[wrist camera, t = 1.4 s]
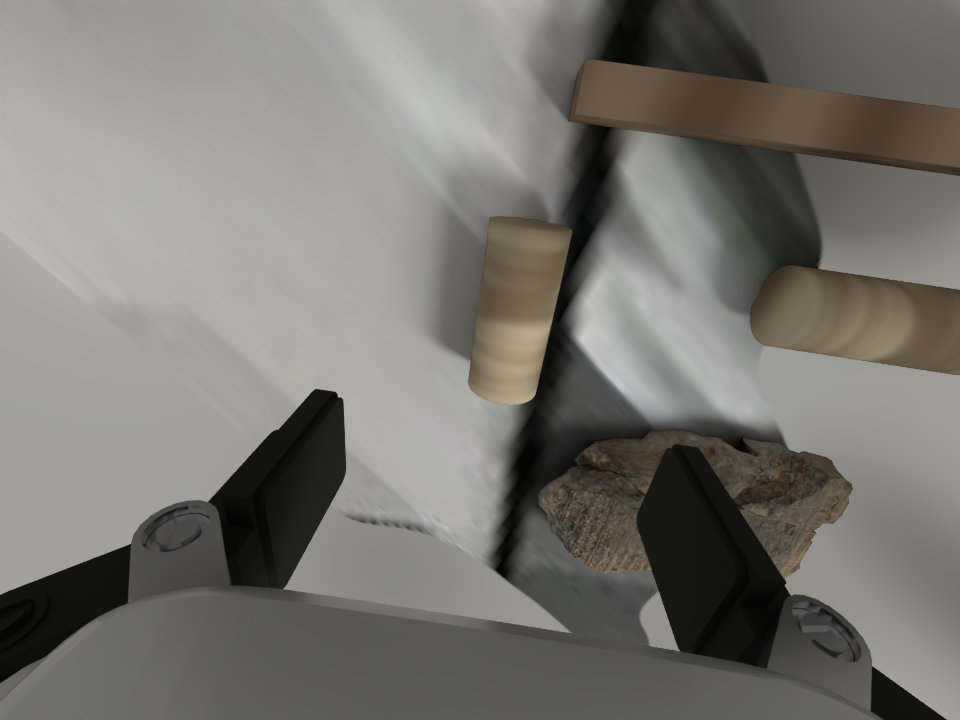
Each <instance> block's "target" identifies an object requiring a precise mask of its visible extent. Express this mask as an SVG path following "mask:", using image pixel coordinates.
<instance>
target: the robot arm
mask: <svg viewBox="0 0 960 720" xmlns="http://www.w3.org/2000/svg"><path fill="white" fill-rule="evenodd" d="M345 473H346V453H345V429H344V404H343V399H342V398H339V397H338V395H337V393H336V392H333V391H326V390H320V389H315V390H314V391H313V392H312V393H311V394H310V395H309V396H308V397H307V398H306V399H305V401H304V402H303V403H302V404H301V405H300V406H299V407H298V408H297V410H296V411H295V412H294V413H293V414H292V415H291V416H290V417H289V418H288V420H287V421H286V422H285V423H284V424H283V425H282V426H281V427H280V429H279V430H275V431H273V432H272V433H271V434H269V435H268V436H267V438H266V439H265V440H264V441H263V442H262V443H261V444H260V445H259V446H258V447H257V449H256V450H255V451H254V452H253V453H252V454H251V455H250V456H249V457H248V459H247V460H246V461H245V462H244V463H243V464H242V465H241V466H240V467H239V468H238V470H237V471H236V472H235V473H234V474H233V475H232V476H231V477H230V479H228V481H227V482H226V483H225V484H224V485H223V486H222V487H221V488H220V489H219V491H218V492H217V493H216V494H215V495H214V496H213V497H212V498H211V499H210V500H209V501H208V502H205V501H201V500H196V501H195V500H193V501H184V502H180V503H176V504H173V505H171V506H168V507H166V508H163V509H161V510H160V511H158V512H156V513H155V514H153V515H151V516H150V517H149V518H148V519H146V520H145V521H144V522H143V523H142V524H141V525H140V526H139V528H138V529H137V530H136V532H135V533H134V536H133V539H132V542H131V544H130V545H127V546H125V547H122V548H119V549H117V550H114V551H112V552H109V553H107V554H104V555H101V556H99V557H96V558H93V559H91V560H88V561H86V562H83V563H80V564H78V565H75V566H73V567H70V568H67V569H65V570H62V571H60V572H57V573H55V574H52V575H49V576H47V577H44V578H42V579H39V580H36V581H34V582H31V583H29V584H26V585H23V586H21V587H18V588H16V589H13V590H10V591H8V592H6V593H4V594H2V595H0V720H946V719H945V718H944V717H942V716H941V715H939V714H938V713H937V712H935V711H934V710H932V709H931V708H930V707H928V706H927V705H925V704H924V703H923V702H921V701H920V700H919V699H917V698H915V697H914V696H913V695H912V694H910V693H909V692H907V691H906V690H904V689H903V688H902V687H900V686H899V685H898V684H896V683H895V682H893V681H892V680H891V679H889V678H888V677H886V676H885V675H884V674H882V673H881V672H880V671H878V670H877V669H875V668H874V667H873V666H872V659H871V654H870V650H869V648H868V646H867V644H866V643H865V641H864V639H863V637H862V636H861V635H860V634H859V632H858V631H857V630H856V629H855V627H854V626H853V625H852V624H851V623H849V622H848V621H847V620H846V619H845V618H844V617H843V616H842V615H841V614H839V613H838V612H837V611H835V610H834V609H832V608H831V607H830V606H828V605H826V604H824V603H822V602H820V601H819V600H817V599H814V598H811V597H808V596H805V595H792V596H791V595H790V594H789V592H788V591H787V589H786V587H785V586H784V585H785V584H786V581H785V580H784V578H783V576H782V575H781V573H780V572H779V570H778V569H777V567H776V566H775V564H774V563H773V561H772V560H771V558H770V556H769V555H768V553H767V552H766V550H765V549H764V547H763V546H762V544H761V543H760V541H759V540H758V538H757V536H756V535H755V533H754V532H753V530H752V529H751V527H750V526H749V524H748V523H747V521H746V520H745V518H744V516H743V515H742V513H741V512H740V510H739V509H738V507H737V506H736V504H735V503H734V501H733V500H732V498H731V496H730V495H729V493H728V492H727V490H726V489H725V487H724V486H723V484H722V483H721V481H720V480H719V478H718V476H717V475H716V473H715V472H714V470H713V469H712V467H711V466H710V464H709V463H708V461H707V460H706V458H705V456H704V455H703V453H702V452H701V450H700V449H699V448H697V447H694V446H687V445H681V444H674V445H673V446H672V448H667V449H666V450H665V452H664V454H663V457H662V459H661V461H660V463H659V466H658V468H657V470H656V472H655V475H654V477H653V479H652V481H651V484H650V486H649V488H648V490H647V493H646V495H645V497H644V499H643V502H642V504H641V506H640V508H639V511H638V513H637V518H636V523H637V528H638V531H639V534H640V537H641V540H642V543H643V546H644V549H645V552H646V554H647V557H648V560H649V563H650V566H651V569H652V572H653V575H654V578H655V581H656V584H657V587H658V590H659V593H660V596H661V599H662V601H663V605H664V608H665V611H666V613H667V617H668V620H669V622H670V625H671V628H672V631H673V634H674V637H675V640H676V643H677V646H678V648H679V650H680V651H681V652H680V651H674V650H668V649H663V648H657V647H651V646H644V645H638V644H632V643H626V642H620V641H614V640H608V639H602V638H596V637H590V636H584V635H578V634H572V633H566V632H559V631H553V630H547V629H541V628H534V627H528V626H522V625H515V624H510V623H503V622H497V621H491V620H484V619H478V618H471V617H465V616H459V615H452V614H447V613H440V612H433V611H426V610H421V609H414V608H407V607H401V606H395V605H388V604H382V603H375V602H368V601H362V600H355V599H349V598H342V597H335V596H328V595H320V594H313V593H305V592H298V591H291V590H283V588H284V587H285V586H286V585H287V583H288V581H289V580H290V577H291V576H292V574H293V572H294V570H295V568H296V567H297V565H298V563H299V561H300V559H301V557H302V556H303V554H304V552H305V550H306V548H307V546H308V544H309V543H310V541H311V539H312V537H313V535H314V533H315V532H316V529H317V528H318V526H319V524H320V522H321V521H322V519H323V517H324V515H325V513H326V511H327V509H328V508H329V506H330V504H331V502H332V500H333V498H334V497H335V495H336V493H337V491H338V489H339V487H340V485H341V484H342V482H343V480H344V477H345Z"/></svg>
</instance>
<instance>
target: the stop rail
mask: <svg viewBox="0 0 960 720" xmlns="http://www.w3.org/2000/svg"><path fill="white" fill-rule="evenodd" d="M568 121H572V122H579V123H586V124H593V125H600V126H607V127H615V128H622V129H629V130H636V131H643V132H650V133H658V134H665V135H672V136H679V137H686V138H693V139H700V140H708V141H715V142H722V143H729V144H736V145H743V146H750V147H758V148H765V149H772V150H779V151H786V152H793V153H801V154H808V155H815V156H823V157H830V158H836V159H844V160H851V161H858V162H866V163H872V164H879V165H886V166H894V167H901V168H908V169H915V170H922V171H929V172H937V173H944V174H951V175H958V176H960V109H955V108H947V107H940V106H933V105H925V104H918V103H911V102H903V101H896V100H888V99H880V98H874V97H866V96H858V95H852V94H844V93H837V92H829V91H822V90H815V89H807V88H799V87H792V86H785V85H777V84H770V83H763V82H755V81H748V80H741V79H733V78H726V77H718V76H711V75H704V74H696V73H689V72H681V71H674V70H667V69H659V68H652V67H644V66H637V65H630V64H622V63H615V62H607V61H600V60H593V59H586V60H585V62H584V64H583V65H582V67H581V69H580V70H579V72H578V74H577V79H576V84H575V89H574V94H573V99H572V104H571V109H570V114H569V119H568Z"/></svg>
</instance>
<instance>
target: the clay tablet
mask: <svg viewBox="0 0 960 720" xmlns="http://www.w3.org/2000/svg"><path fill="white" fill-rule="evenodd" d="M743 441H744V442H745V444H746V445H745V446H744V448H743V449H742V451H738V450H736V449H735V448H733V447H732V446H731V445H728V444H727V443H726V442H724V441H723V440H722V439H721V438H718V437H711V436H704V435H697V434H694V433H692V432H690V431H684V430H678V429H670V430H664V431H650V432H649V433H648V434H647V435H646V436H645V437H644V438H643V439H639V438H633V439H626V438H613V439H609V440H604V441H600V442H599V441H596V442H595V443H593V444H592V445H591V446H589V447H588V448H586V449H584V450H583V451H582V452H581V453H580V454H579V455H578V456H577V457H576V458H575V459H574V461H575V462H576V463H577V467H572V468H570V469H569V470H568V471H567V472H566V473H564V474H563V475H562V476H560V477H558V478H557V479H554V480H553V481H551V482H549V483H548V484H547V485H546V486H545V487H544V488H543V489H542V490H540V492H539V494H538V498H539V499H538V503H539V505H540V506H541V507H542V508H543V510H544V511H545V512H546V513H547V515H546V520H547V521H549V522H550V527H551V531H552V534H553V535H554V536H555V538H556V539H557V540H558V541H559V542H560V543H561V544H562V545H563V546H564V547H565V548H566V550H567V551H568V553H569V554H570V555H571V556H573V557H575V558H577V559H579V560H581V561H582V562H584V563H585V564H586V565H588V566H589V567H591V568H592V569H594V570H596V571H598V572H600V573H603V574H605V575H607V574H609V573H611V572H617V573H626V572H627V571H628V570H630V571H633V572H637V571H645V570H652V569H651V566H650V563H649V560H648V557H647V554H646V552H645V549H644V546H643V543H642V540H641V537H640V534H639V531H638V528H637V523H636V518H637V513H638V511H639V508H640V506H641V504H642V502H643V499H644V497H645V495H646V493H647V490H648V488H649V486H650V484H651V481H652V479H653V477H654V475H655V472H656V470H657V468H658V466H659V463H660V461H661V459H662V457H663V454H664V452H665V450H666V449H667V448H672V446H673V445H674V444H681V445H687V446H694V447H697V448H699V449H700V450H701V452H702V453H703V455H704V456H705V458H706V460H707V461H708V463H709V464H710V466H711V467H712V469H713V470H714V472H715V473H716V475H717V476H718V478H719V480H720V481H721V483H722V484H723V486H724V487H725V489H726V490H727V492H728V493H729V495H730V496H731V498H732V500H733V501H734V503H735V504H736V506H737V507H738V509H739V510H740V512H741V513H742V515H743V516H744V518H745V520H746V521H747V523H748V524H749V526H750V527H751V529H752V530H753V532H754V533H755V535H756V536H757V538H758V540H759V541H760V543H761V544H762V546H763V547H764V549H765V550H766V552H767V553H768V555H769V556H770V558H771V560H772V561H773V563H774V564H775V566H776V567H777V569H778V570H779V572H780V573H781V575H782V576H783V578H784V579H785V578H786V577H788V576H789V575H791V574H792V573H794V572H795V571H797V570H798V569H799V568H800V562H801V560H802V558H803V556H804V554H805V553H806V552H807V550H808V548H809V547H810V545H811V544H812V541H811V539H812V538H813V537H814V535H815V534H816V532H814V531H813V530H815V529H817V528H819V527H820V525H822V524H823V523H830V524H833V523H834V522H835V521H836V520H837V519H838V518H839V517H840V516H841V515H842V514H843V512H844V511H845V509H846V507H847V506H848V504H849V495H850V493H851V491H852V484H851V483H850V482H848V481H847V480H846V479H845V478H844V477H843V476H842V475H841V474H840V473H839V472H838V471H837V469H836V468H835V466H834V465H833V463H832V461H831V460H830V459H828V458H826V457H823V456H819V455H816V454H812V453H808V452H804V451H803V452H800V453H797V452H794V451H791V450H789V449H788V448H787V447H786V446H783V445H781V444H778V443H776V442H761V441H757V440H752V439H748V438H744V437H743Z"/></svg>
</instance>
